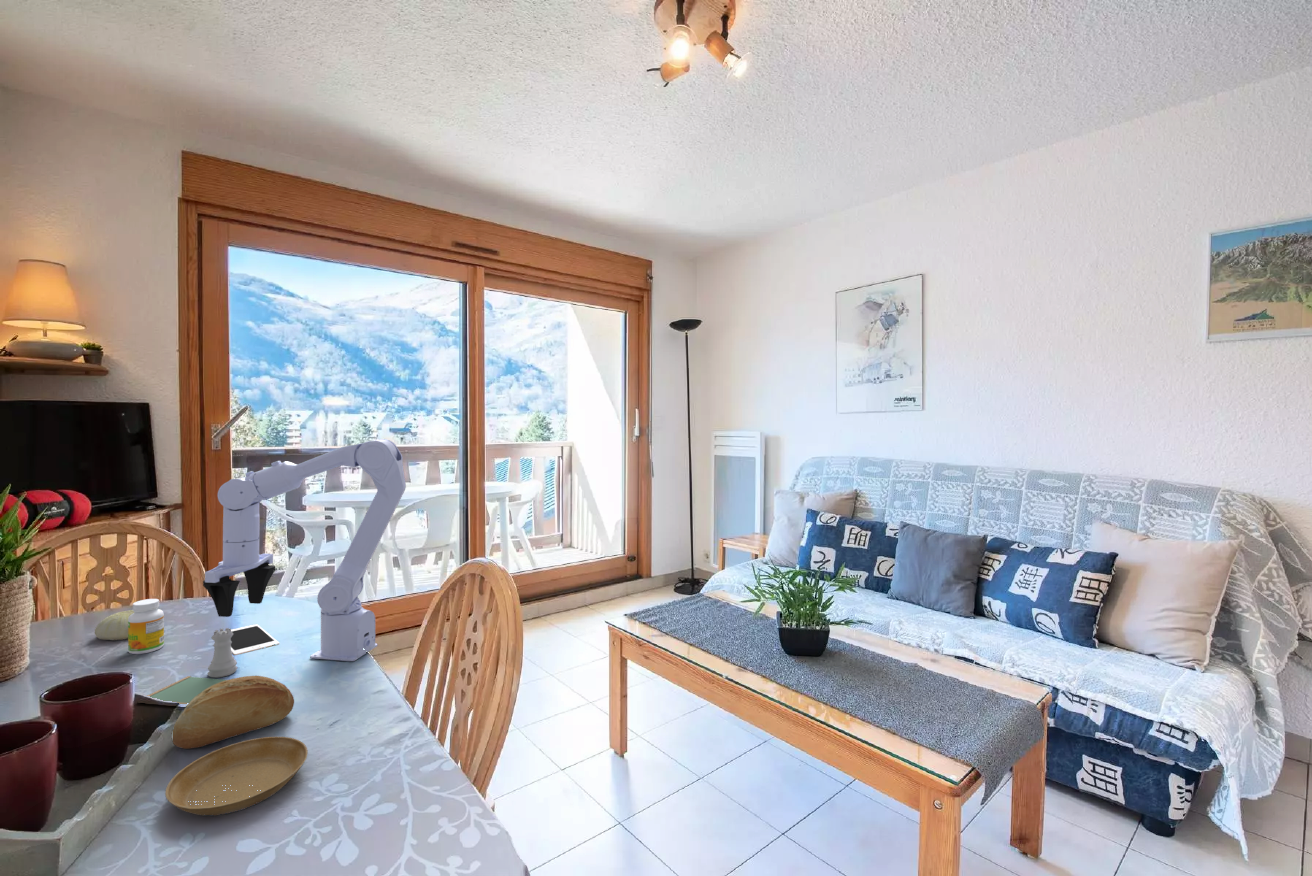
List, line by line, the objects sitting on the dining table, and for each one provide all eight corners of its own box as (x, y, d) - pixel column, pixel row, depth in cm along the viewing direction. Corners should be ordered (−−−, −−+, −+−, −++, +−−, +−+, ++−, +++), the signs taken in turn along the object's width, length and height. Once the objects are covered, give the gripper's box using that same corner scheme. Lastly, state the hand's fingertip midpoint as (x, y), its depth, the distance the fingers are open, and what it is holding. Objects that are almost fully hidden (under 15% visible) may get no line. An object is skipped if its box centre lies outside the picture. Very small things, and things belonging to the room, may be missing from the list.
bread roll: (301, 727, 87) (301, 676, 87) (174, 767, 77) (173, 710, 76) (287, 704, 94) (287, 657, 94) (169, 738, 84) (169, 685, 83)
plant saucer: (238, 837, 65) (237, 815, 64) (132, 819, 67) (131, 797, 67) (333, 761, 79) (333, 743, 79) (243, 748, 82) (243, 730, 82)
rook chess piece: (221, 679, 102) (220, 636, 102) (200, 677, 103) (200, 633, 102) (243, 669, 106) (243, 627, 106) (224, 666, 107) (224, 625, 107)
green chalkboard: (248, 683, 101) (248, 680, 101) (201, 709, 92) (201, 706, 92) (188, 678, 102) (188, 676, 102) (136, 703, 93) (136, 700, 93)
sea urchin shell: (166, 622, 124) (132, 604, 119) (133, 656, 119) (96, 638, 114) (151, 614, 129) (117, 596, 124) (118, 646, 124) (82, 628, 119)
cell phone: (234, 657, 112) (234, 654, 112) (214, 636, 123) (214, 633, 123) (279, 645, 118) (279, 642, 118) (257, 626, 129) (257, 623, 129)
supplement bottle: (122, 651, 113) (121, 603, 112) (154, 642, 118) (154, 596, 117) (137, 656, 111) (137, 607, 110) (170, 646, 116) (169, 599, 115)
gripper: (250, 531, 117) (249, 596, 117) (188, 547, 102) (188, 621, 102) (283, 533, 116) (282, 598, 117) (226, 548, 102) (225, 623, 102)
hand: (240, 609), depth 110 cm, fingers open, 7 cm apart
